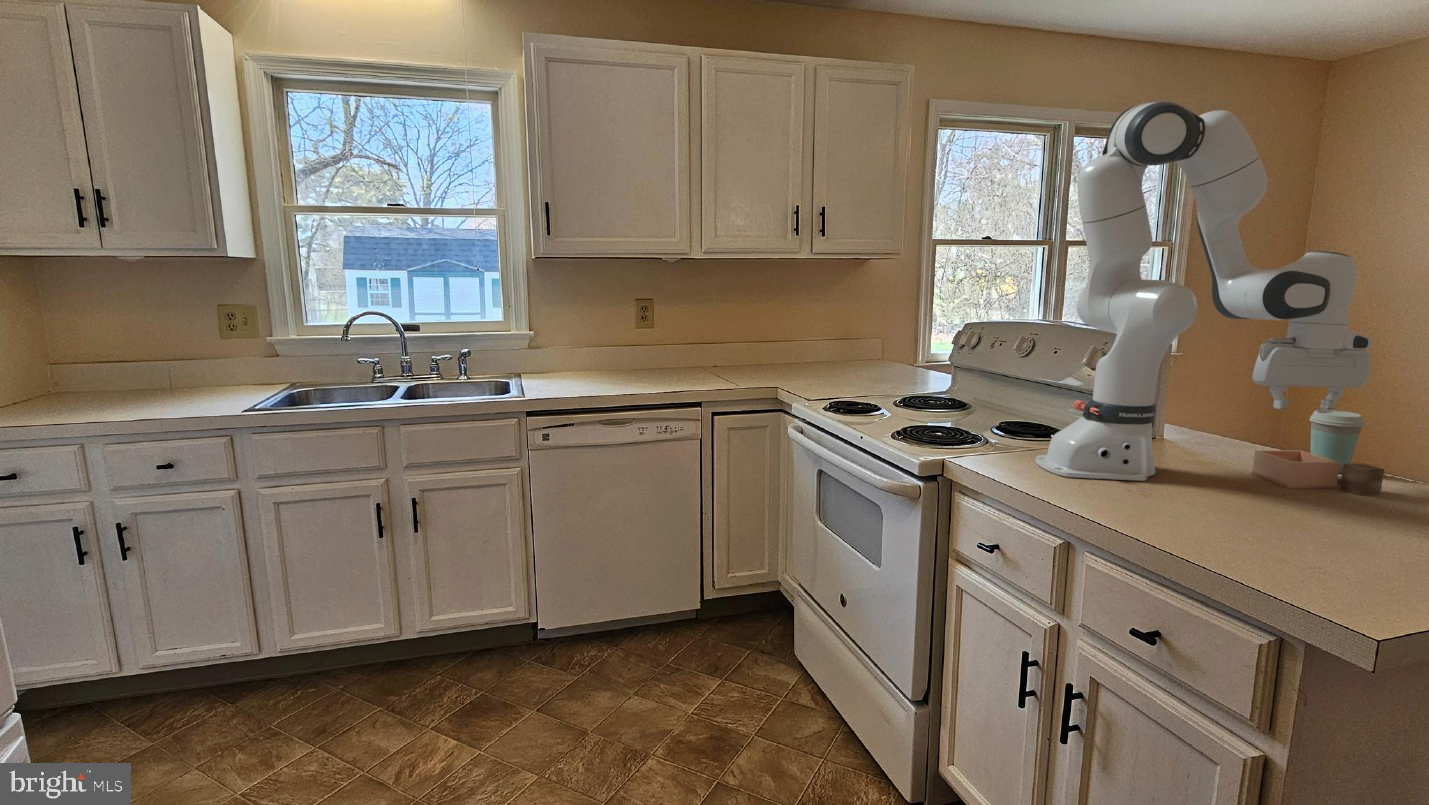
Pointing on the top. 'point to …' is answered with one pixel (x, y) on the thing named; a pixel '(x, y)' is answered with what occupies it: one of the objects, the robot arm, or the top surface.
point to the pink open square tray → (1295, 469)
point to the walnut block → (1361, 479)
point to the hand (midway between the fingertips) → (1303, 408)
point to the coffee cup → (1335, 435)
